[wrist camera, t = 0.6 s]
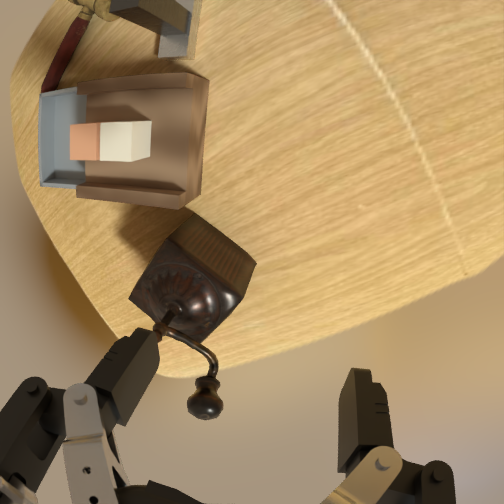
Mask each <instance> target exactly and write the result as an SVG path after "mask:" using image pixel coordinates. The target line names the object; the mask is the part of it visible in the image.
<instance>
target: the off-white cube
mask: <svg viewBox="0 0 504 504" xmlns="http://www.w3.org/2000/svg"><path fill="white" fill-rule="evenodd" d="M151 124H152V121H116V122H104V123H100V161H123V162H133V161H136V160H140V159H143V158H147V157H150V144H151Z"/></svg>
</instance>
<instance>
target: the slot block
mask: <svg viewBox="0 0 504 504" xmlns="http://www.w3.org/2000/svg"><path fill="white" fill-rule="evenodd" d="M208 91H209V80H206V79H204V78H201V77H198V76H196V75H193V74H190V73H187V72H185V73H159V74H144V75H132V76H122V77H113V78H105V79H98V80H91V81H85V82H79V83H77V95H87V103H86V123H90V122H109V121H152V124H151V144H150V157H147V158H143V159H140V160H136V161H133V162H123V161H100V160H85V175H86V182H84V183H82V184H79V185H76V196H77V198H85V199H94V200H103V201H112V202H120V203H129V204H137V205H145V206H153V207H161V208H169V209H176V210H179V209H180V208H182V207H183V206H185V205H186V204H187V203H189V202H190V201H192V200H193V199H195V198H196V197H197V196H199V195H200V194H201V181H202V165H203V150H204V137H205V124H206V112H207V101H208Z"/></svg>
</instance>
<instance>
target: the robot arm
mask: <svg viewBox="0 0 504 504" xmlns="http://www.w3.org/2000/svg"><path fill="white" fill-rule="evenodd" d="M159 361H160V356H159V350H158V343H157V336H156V333H155V332H154V331H150V330H147V329H143V328H139V327H138V328H136V329H135V331H134V332H133V333H132V335H131V336H130V337H127V336H124V337H122V338H121V339H119V340H118V341H116V342H115V343H114V345H113V346H112V347H111V348H110V350H109V352H107V353H106V355H105V356H104V359H102V360H101V361H100V362H99V364H98V365H97V367H96V368H95V369H94V371H93V372H92V373H91V375H90V376H89V377H88V378H87V380H86V381H85V382H84V383H78V384H74V385H72V386H70V387H69V388H68V389H67V390H65V389H57V388H50V387H48V385H47V383H46V382H45V380H43V379H42V378H40V377H30V378H28V379H26V380H25V381H23V382H22V384H21V385H20V386H19V387H18V389H17V390H16V391H15V392H14V394H13V395H12V397H11V398H10V399H9V401H8V402H7V403H6V405H5V406H4V407H3V409H2V410H1V412H0V504H38V500H37V497H36V495H35V493H36V491H37V489H38V487H39V485H40V483H41V481H42V480H43V478H44V476H45V474H46V472H47V470H48V468H49V466H50V464H51V463H52V461H53V459H54V457H55V455H56V453H57V452H58V450H59V448H60V446H61V444H62V443H63V454H64V461H65V467H66V473H67V479H68V484H69V490H70V495H71V499H72V503H73V504H204V503H201V502H199V501H197V500H195V499H193V498H192V497H190V496H188V495H186V494H184V493H182V492H181V491H179V490H177V489H174V488H171V487H168V486H165V485H162V484H159V483H156V482H153V481H151V480H149V481H148V484H147V485H130V483H129V480H128V477H127V475H126V473H125V471H124V468H123V465H122V462H121V458H120V454H119V451H118V447H117V443H116V439H115V435H114V431H113V428H114V427H115V425H116V423H117V424H120V425H122V426H126V424H127V422H128V421H129V419H130V417H131V415H132V413H133V412H134V409H135V408H136V406H137V405H138V403H139V401H140V399H141V397H142V396H143V394H144V392H145V390H146V389H147V387H148V385H149V383H150V382H151V380H152V378H153V376H154V375H155V373H156V371H157V369H158V366H159ZM66 436H67V440H66V441H64V439H65V437H66ZM338 473H346V479H345V480H344V481H343V482H342V483H341V484H340V485H339V486H338V487H337V488H336V490H334V491H333V492H332V493H331V494H330V495H329V496H328V497H327V498H326V499H325V500H324V501H323V502H322V503H320V504H456V497H455V486H454V476H453V471H452V469H451V467H450V466H449V465H447V463H445V462H443V461H439V460H438V461H437V460H435V461H431V462H429V463H428V464H426V465H425V466H423V465H419V464H415V463H411V462H408V461H406V460H404V459H402V458H401V455H400V454H399V453H398V452H397V451H396V450H395V449H394V445H393V438H392V429H391V422H390V415H389V407H388V400H387V394H386V392H385V390H384V388H383V387H382V385H381V384H380V383H373V382H372V375H371V371H370V370H369V369H360V368H351V370H350V372H349V374H348V377H347V379H346V381H345V384H344V386H343V388H342V391H341V394H340V398H339V435H338Z"/></svg>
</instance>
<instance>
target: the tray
mask: <svg viewBox="0 0 504 504" xmlns="http://www.w3.org/2000/svg"><path fill="white" fill-rule="evenodd" d="M86 103H87V95H77V87H72V88H66V89H61V90H55V91H51V92H46V93H41V94H40V98H39V121H38V152H39V176H40V186H42V187H56V188H69V189H76V185H79V184H82V183H84V182H86V175H85V160H70V125H72V124H81V123H86Z"/></svg>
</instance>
